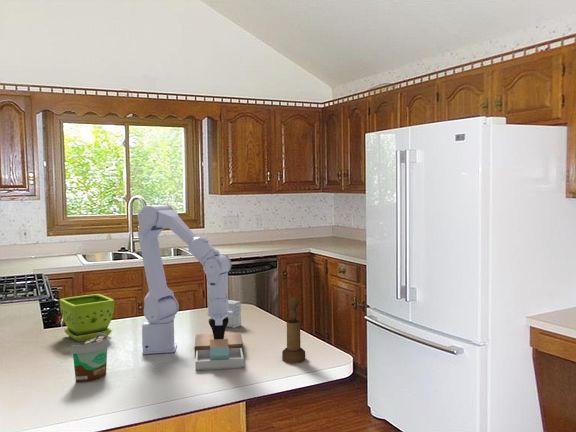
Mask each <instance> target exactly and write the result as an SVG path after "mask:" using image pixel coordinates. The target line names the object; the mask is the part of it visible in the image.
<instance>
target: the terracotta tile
mask: <svg viewBox="0 0 576 432" xmlns="http://www.w3.org/2000/svg"><path fill="white" fill-rule="evenodd" d="M214 347H228V339H215V340H210V348H214Z"/></svg>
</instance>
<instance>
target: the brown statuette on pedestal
mask: <svg viewBox="0 0 576 432" xmlns="http://www.w3.org/2000/svg"><path fill="white" fill-rule="evenodd" d="M299 302H300V301H299V299H298V297H296V296H291V297H289V298H288V300H287V305H288V306H289V308H290V311H289V314H288V315H289V319H288V320H286V347H285V348H284V349H283V350H282V351H281V354H282V355H281V360H282V361H283V362H285V363H288V364H297V363H298V364H299V363H304V362H305V361H304V360H306V350H305V349H303V348H302V347H301V320H300V319H297V317H298V312H297V307H298V306H299Z"/></svg>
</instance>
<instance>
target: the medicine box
mask: <svg viewBox="0 0 576 432" xmlns="http://www.w3.org/2000/svg"><path fill="white" fill-rule="evenodd" d="M228 311H232V315H228V316H227V317H228V321H229V322H228V324H227V326H226V328H233V329H235V328H238V327H240V326H242V303H241V301H237V300H232V299H231V300H230V299H228Z"/></svg>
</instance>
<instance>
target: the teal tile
mask: <svg viewBox="0 0 576 432" xmlns="http://www.w3.org/2000/svg"><path fill="white" fill-rule="evenodd" d="M220 359H229V347H214V348H210V360H220Z"/></svg>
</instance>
